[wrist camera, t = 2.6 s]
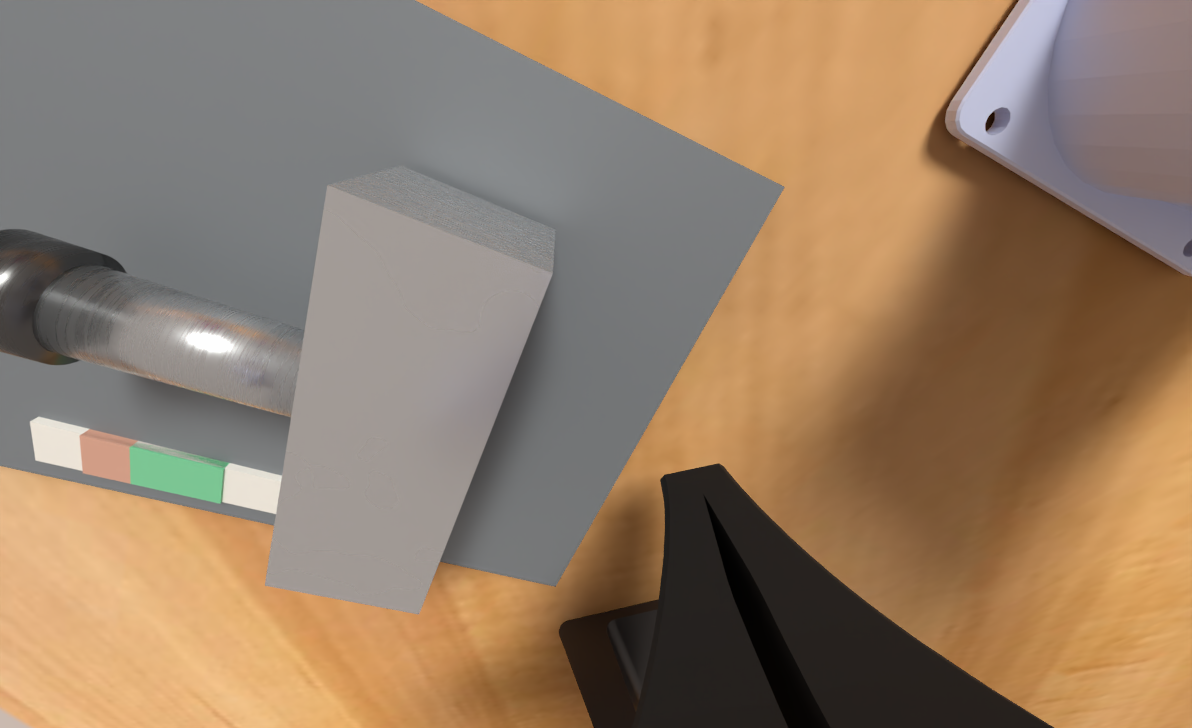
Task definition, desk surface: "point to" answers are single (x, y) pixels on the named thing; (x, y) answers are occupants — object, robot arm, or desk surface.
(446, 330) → the gauge plunger
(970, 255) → the desk surface
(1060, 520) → the desk surface
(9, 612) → the desk surface
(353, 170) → the frame
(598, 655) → the phone stand
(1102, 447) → the desk surface
